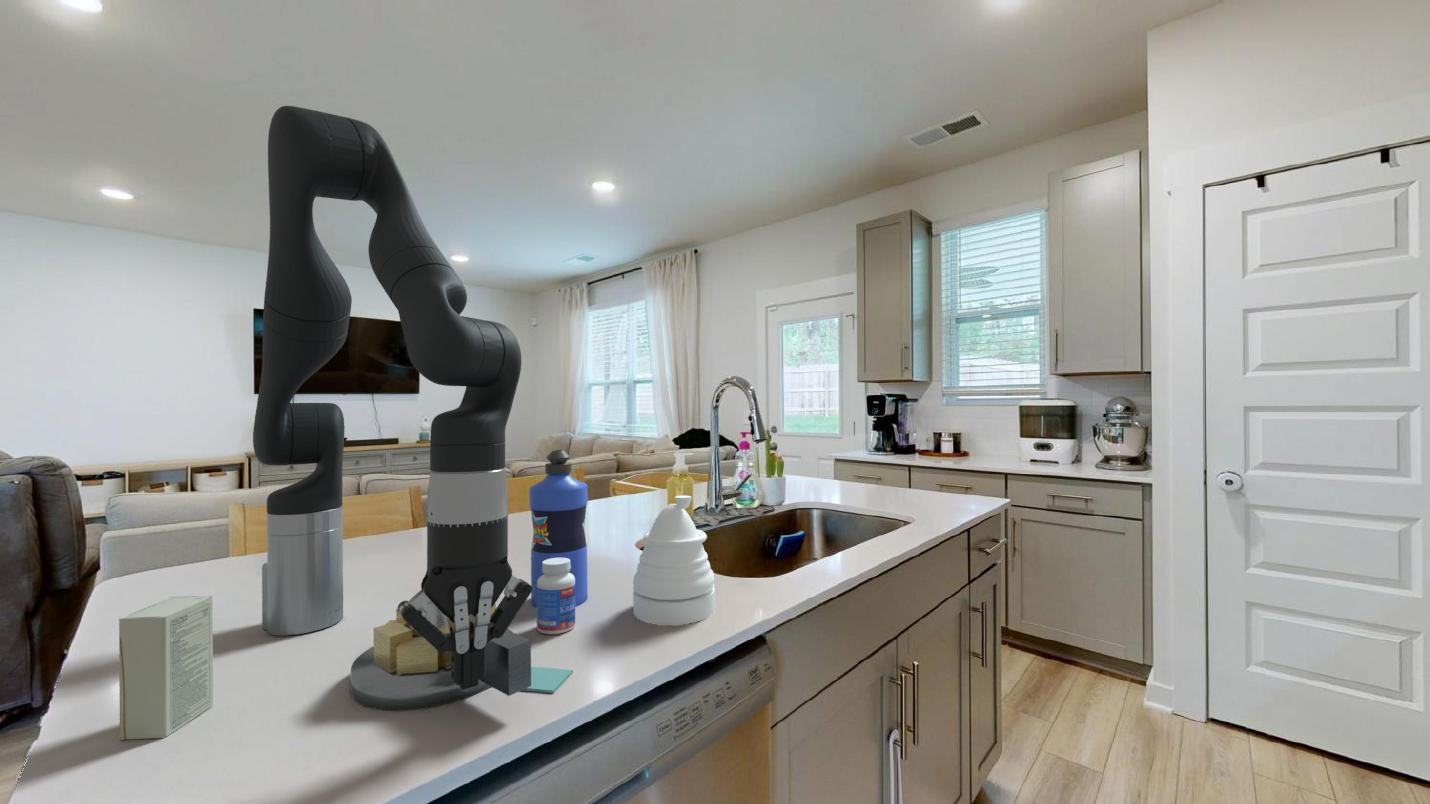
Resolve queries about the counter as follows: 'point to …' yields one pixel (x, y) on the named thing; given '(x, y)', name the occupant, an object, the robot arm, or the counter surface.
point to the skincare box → (165, 666)
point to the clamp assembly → (414, 655)
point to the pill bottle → (556, 597)
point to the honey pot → (674, 571)
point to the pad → (547, 679)
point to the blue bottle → (559, 523)
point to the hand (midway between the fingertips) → (468, 684)
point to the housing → (406, 681)
